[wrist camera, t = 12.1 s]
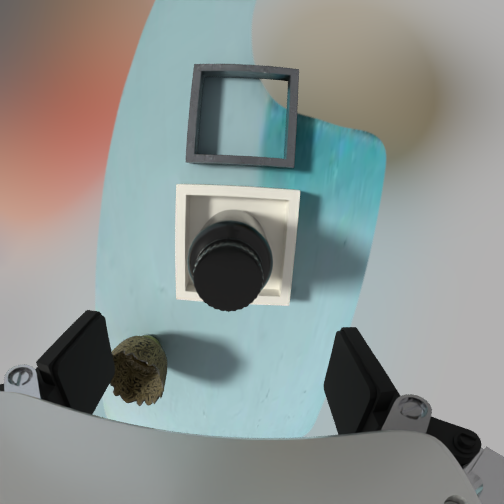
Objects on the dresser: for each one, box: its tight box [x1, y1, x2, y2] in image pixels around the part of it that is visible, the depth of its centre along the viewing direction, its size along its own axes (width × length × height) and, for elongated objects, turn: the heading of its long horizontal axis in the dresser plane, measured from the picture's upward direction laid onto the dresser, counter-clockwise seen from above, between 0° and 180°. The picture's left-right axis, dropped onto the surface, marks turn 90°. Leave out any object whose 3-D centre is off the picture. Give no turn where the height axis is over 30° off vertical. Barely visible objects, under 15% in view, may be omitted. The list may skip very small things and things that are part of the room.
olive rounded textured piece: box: [110, 335, 167, 406], centre depth 30 cm, size 8×7×8 cm
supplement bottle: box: [187, 210, 273, 312], centre depth 25 cm, size 7×7×12 cm
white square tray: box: [175, 184, 300, 306], centre depth 30 cm, size 12×12×2 cm
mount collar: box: [186, 64, 299, 168], centre depth 27 cm, size 11×11×2 cm
